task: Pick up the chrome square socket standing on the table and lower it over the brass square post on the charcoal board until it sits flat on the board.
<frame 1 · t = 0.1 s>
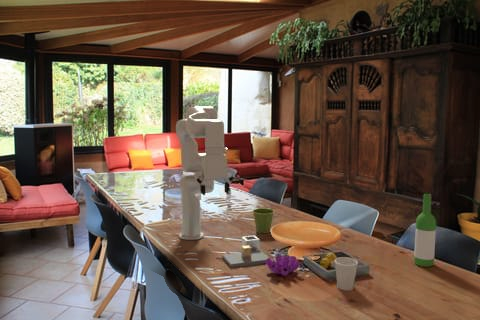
hand: (215, 193, 173), 31 cm above the table, fingers open, 9 cm apart
purple bumpy lump: (282, 273, 171), on the table
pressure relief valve: (335, 269, 176), resting in grey square tray
grey square tray: (334, 268, 176), on the table
socket: (250, 250, 198), on the table
wine bottle: (423, 264, 181), on the table
board: (246, 260, 185), on the table
plant pot: (263, 232, 228), on the table
dixie cup: (345, 287, 158), on the table
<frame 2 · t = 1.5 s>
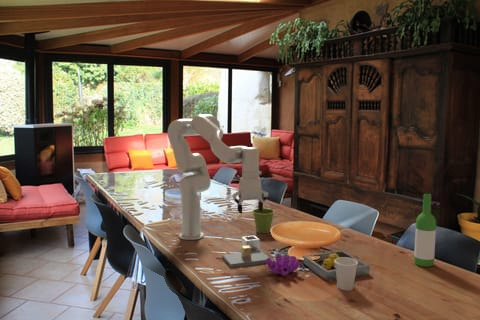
hand: (250, 211, 195), 18 cm above the table, fingers open, 9 cm apart
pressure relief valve: (338, 270, 175), resting in grey square tray
everything else where it was.
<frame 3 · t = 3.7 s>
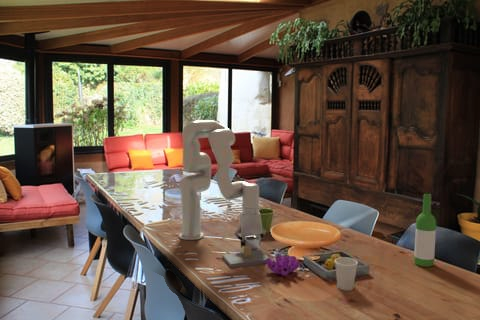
hand: (250, 248, 197), 1 cm above the table, fingers closed on socket, 6 cm apart
socket: (250, 250, 198), on the table, touching gripper
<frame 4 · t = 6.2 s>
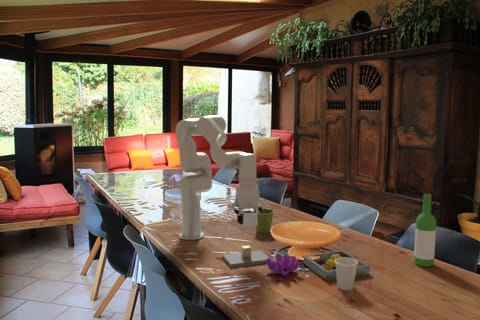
hand: (247, 222, 186), 16 cm above the table, fingers closed on socket, 6 cm apart
socket: (247, 225, 186), point 15 cm above the table, touching gripper
everything else where it was.
when the fingers open (4 cm above the table, at t = 9.0 s): socket stays where it is, resting on board.
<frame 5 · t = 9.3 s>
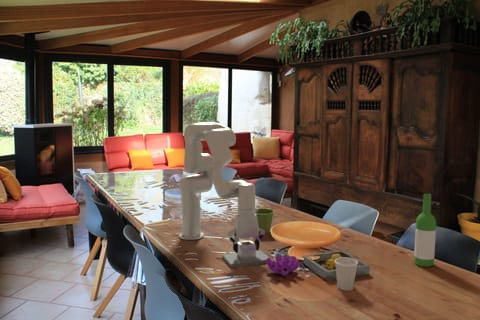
hand: (246, 250, 185), 4 cm above the table, fingers open, 9 cm apart
socket: (246, 256, 185), point 1 cm above the table, touching board
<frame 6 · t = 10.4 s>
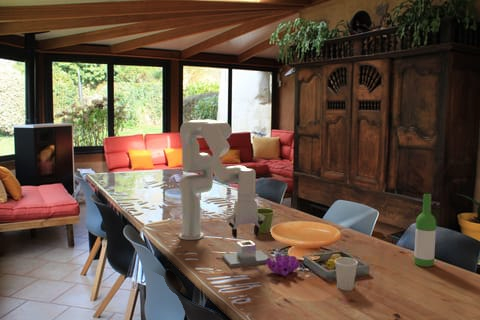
hand: (245, 236, 185), 11 cm above the table, fingers open, 9 cm apart
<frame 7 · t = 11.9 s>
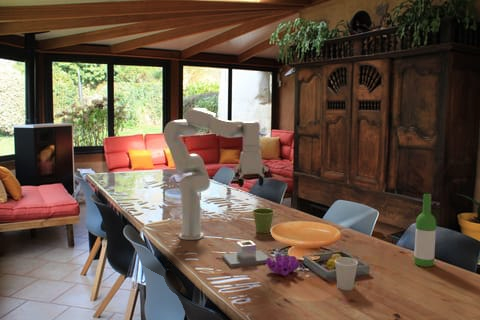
hand: (250, 186, 196), 30 cm above the table, fingers open, 9 cm apart
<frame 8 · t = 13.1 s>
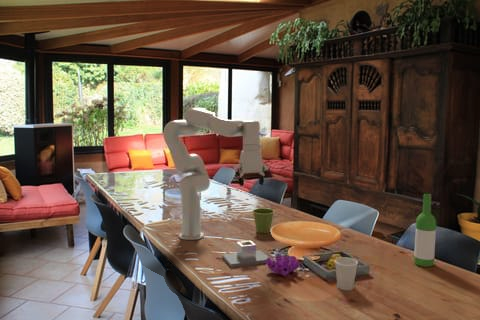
hand: (251, 185, 196), 30 cm above the table, fingers open, 9 cm apart
at the end: socket 0.1 cm off-centre on the board, point 1.5 cm above the board's base; socket tilted 0°; the gripper is holding nothing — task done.
